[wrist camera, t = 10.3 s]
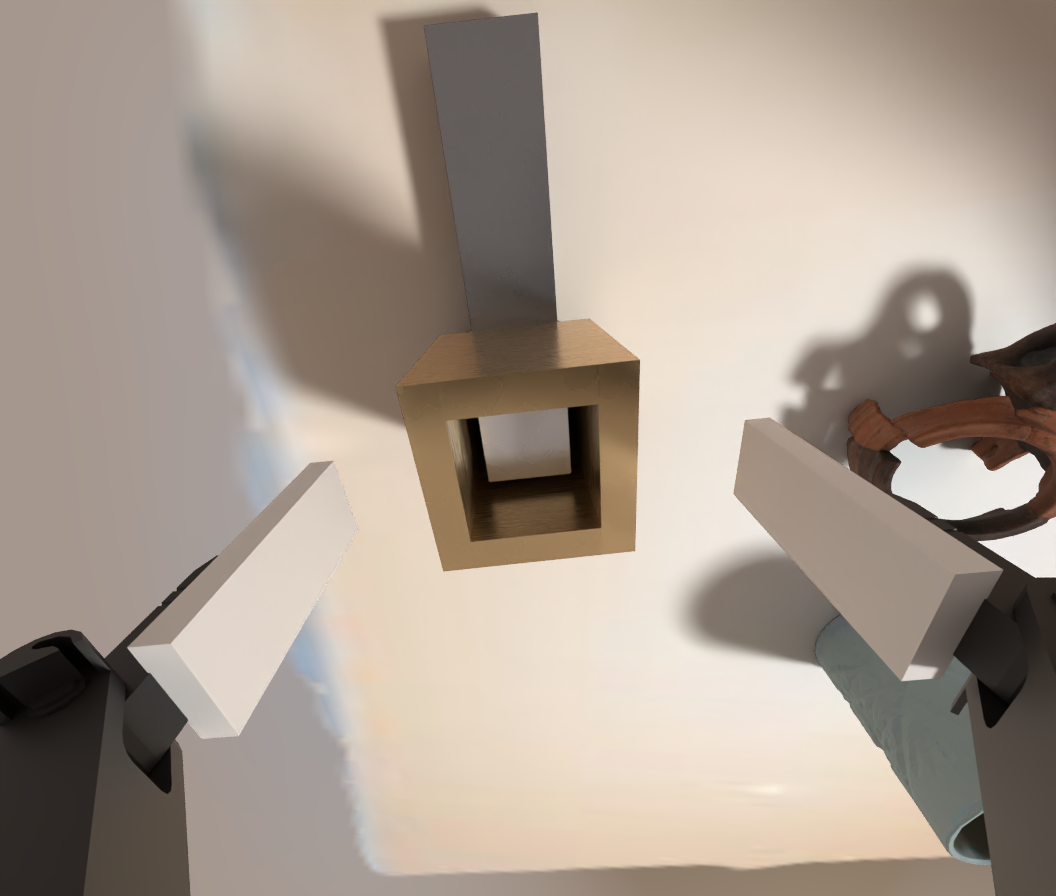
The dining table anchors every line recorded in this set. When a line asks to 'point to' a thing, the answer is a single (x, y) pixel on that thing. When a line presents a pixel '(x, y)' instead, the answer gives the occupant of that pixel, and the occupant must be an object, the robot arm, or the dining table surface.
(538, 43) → the grey handled bowl
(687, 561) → the dining table surface
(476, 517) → the hollow square tube
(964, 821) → the grey green cup
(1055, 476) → the ring-shaped clay flask
